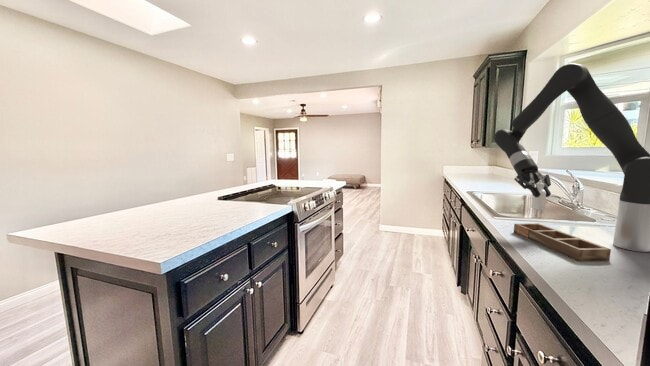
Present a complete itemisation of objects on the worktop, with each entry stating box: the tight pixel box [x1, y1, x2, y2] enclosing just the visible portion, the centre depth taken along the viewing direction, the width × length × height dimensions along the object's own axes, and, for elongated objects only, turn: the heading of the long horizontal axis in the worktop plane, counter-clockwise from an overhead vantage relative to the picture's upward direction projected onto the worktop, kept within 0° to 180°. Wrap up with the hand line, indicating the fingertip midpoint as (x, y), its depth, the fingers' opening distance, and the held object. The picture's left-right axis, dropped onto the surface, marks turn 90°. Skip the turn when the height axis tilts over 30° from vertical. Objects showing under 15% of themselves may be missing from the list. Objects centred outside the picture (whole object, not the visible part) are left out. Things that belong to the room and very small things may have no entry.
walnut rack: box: [513, 222, 612, 262], centre depth 99 cm, size 11×29×4 cm, turn 1°
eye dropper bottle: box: [530, 180, 547, 211], centre depth 106 cm, size 4×6×12 cm
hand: (543, 195), depth 104 cm, fingers closed on eye dropper bottle, 3 cm apart
